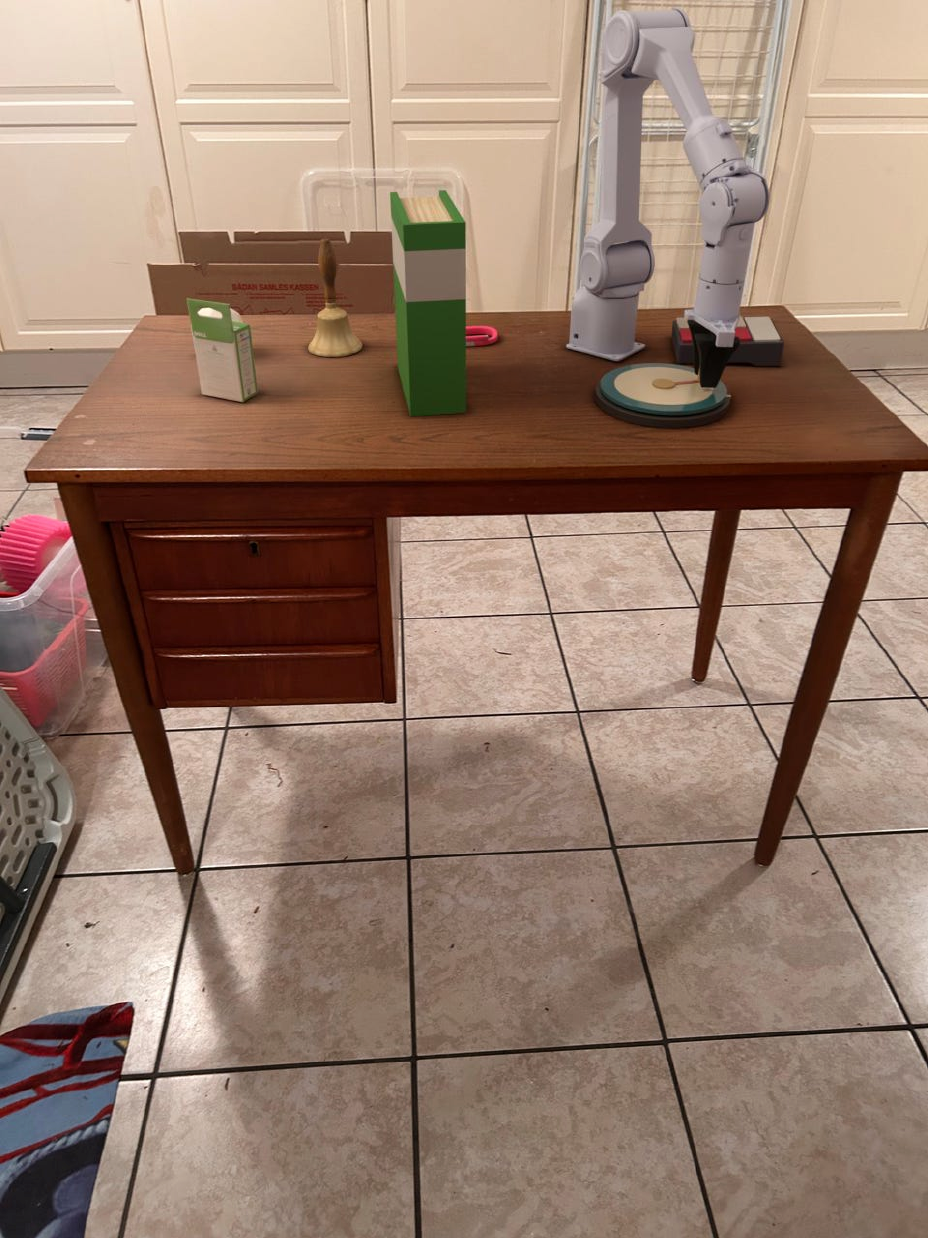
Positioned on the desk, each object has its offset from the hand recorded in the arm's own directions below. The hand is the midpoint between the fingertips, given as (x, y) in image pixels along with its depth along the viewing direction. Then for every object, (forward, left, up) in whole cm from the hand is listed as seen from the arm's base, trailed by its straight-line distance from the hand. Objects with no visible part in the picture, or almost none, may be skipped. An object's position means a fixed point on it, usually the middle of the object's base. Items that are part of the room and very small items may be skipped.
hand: (705, 380), depth 129 cm
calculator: (-6, +18, -3) cm, 19 cm away
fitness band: (-39, -2, -3) cm, 39 cm away
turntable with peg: (-4, -4, -1) cm, 6 cm away
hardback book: (-31, -21, -3) cm, 38 cm away
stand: (-4, -4, -3) cm, 6 cm away
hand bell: (-53, -18, -3) cm, 56 cm away
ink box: (-51, -40, -3) cm, 65 cm away
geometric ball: (-64, -31, -3) cm, 71 cm away
